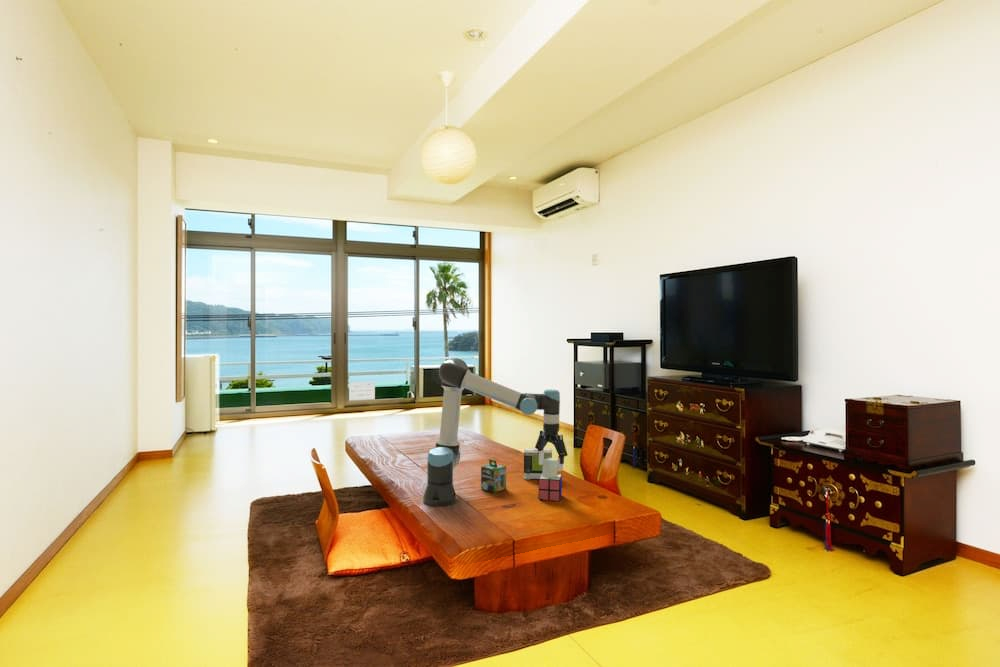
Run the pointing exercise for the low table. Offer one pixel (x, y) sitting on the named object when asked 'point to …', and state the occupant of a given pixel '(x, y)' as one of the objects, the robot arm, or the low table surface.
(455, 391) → the robot arm
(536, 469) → the tea box
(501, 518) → the low table surface
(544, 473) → the plain white block
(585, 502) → the low table surface
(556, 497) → the puzzle cube
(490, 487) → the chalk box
